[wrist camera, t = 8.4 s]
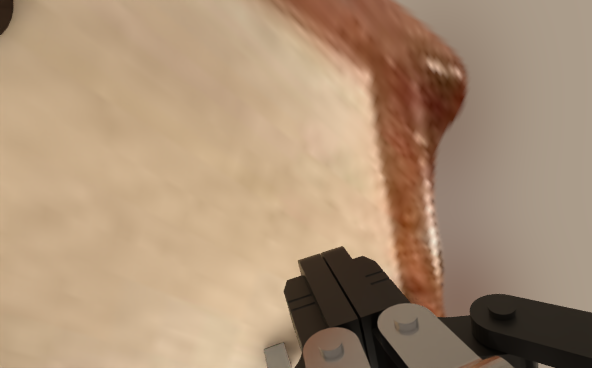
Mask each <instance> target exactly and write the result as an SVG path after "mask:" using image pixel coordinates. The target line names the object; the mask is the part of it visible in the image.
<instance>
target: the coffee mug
mask: <svg viewBox="0 0 592 368" xmlns="http://www.w3.org/2000/svg"><path fill="white" fill-rule="evenodd" d="M12 13H13V0H0V35H1V34H2V33H3V32H4V31H5V30H6V28H7V27H8V25H9V23H10V21H11V18H12Z"/></svg>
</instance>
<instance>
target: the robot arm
mask: <svg viewBox="0 0 592 368" xmlns="http://www.w3.org/2000/svg"><path fill="white" fill-rule="evenodd" d="M298 264H299V268H300V272H301V276H299V277H296V278H293V279H290V280H287V282H286V286H285V289H284V294H285V298H286V301H287V305H288V308H289V312H290V315H291V319H292V323H293V326H294V330H295V333H296V336H297V339H298V342H299V345H300V348H301V351H302V355H301V358H300V360H299V362H298V364H297V365H296V366H295V368H538V363H541V364H544V365H548V366H551V367H555V368H592V313H591V312H586V311H581V310H577V309H572V308H567V307H562V306H558V305H553V304H548V303H544V302H539V301H534V300H529V299H525V298H520V297H515V296H510V295H505V294H492V295H486V296H483V297H480V298H478V299H477V300H475V301H474V302H473V303H472V305H471V307H470V315H469V316H459V317H445V318H444V317H436V316H435V315H434V314H433V313H432V312H431V311H430V310H428V309H427V308H425V307H423V306H420V305H417V304H411V303H410V302H409V301H408V299H407V298H406V297H405V296H404V295H403V293H402V292H401V291H400V290H399V289H398V288H397V286H396V285H395V284H394V283H393V282H392V280H391V279H389V277H388V276H387V275H386V273H385V272H383V270H382V269H381V267H380V266H379V265H378V264H377V263H376V262H375V261H373V260H371V259H369V258H367V257H364V256H361V257H358V258H355V259H352V258H351V257H350V255H349V254H348V253H347V251H346V250H345V248H344V247H343V246H342V247H338V248H335V249H332V250H329V251H326V252H323V253H321V255H320V254H317V255H313V256H310V257H307V258H304V259H301V260H298Z"/></svg>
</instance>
